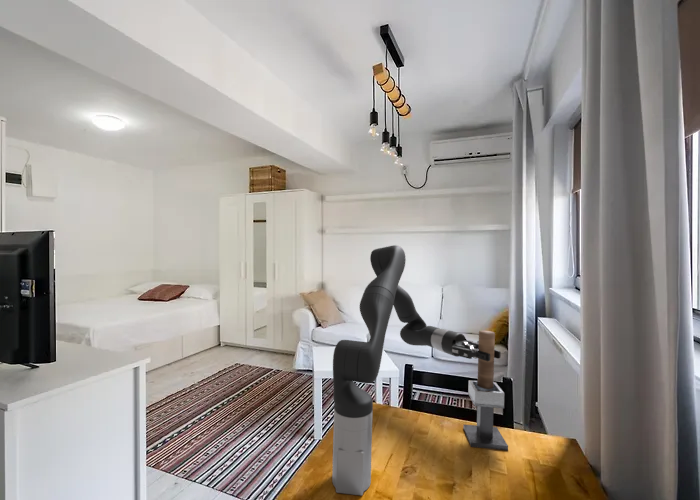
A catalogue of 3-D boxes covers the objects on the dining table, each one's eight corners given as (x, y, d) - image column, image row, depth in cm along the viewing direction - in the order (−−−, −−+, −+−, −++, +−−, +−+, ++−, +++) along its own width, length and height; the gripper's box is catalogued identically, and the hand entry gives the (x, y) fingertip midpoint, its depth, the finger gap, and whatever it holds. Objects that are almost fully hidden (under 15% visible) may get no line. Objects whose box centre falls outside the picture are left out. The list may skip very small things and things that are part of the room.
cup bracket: (508, 450, 93) (509, 394, 93) (471, 446, 94) (472, 392, 94) (496, 431, 102) (497, 381, 103) (463, 428, 104) (464, 378, 104)
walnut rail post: (495, 389, 96) (496, 334, 96) (479, 388, 96) (481, 333, 96) (490, 383, 100) (492, 330, 100) (475, 382, 101) (477, 330, 101)
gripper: (433, 333, 106) (480, 347, 92) (462, 328, 114) (509, 340, 100) (432, 356, 106) (479, 373, 92) (461, 349, 114) (508, 365, 100)
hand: (494, 356), depth 96 cm, fingers closed on walnut rail post, 4 cm apart
